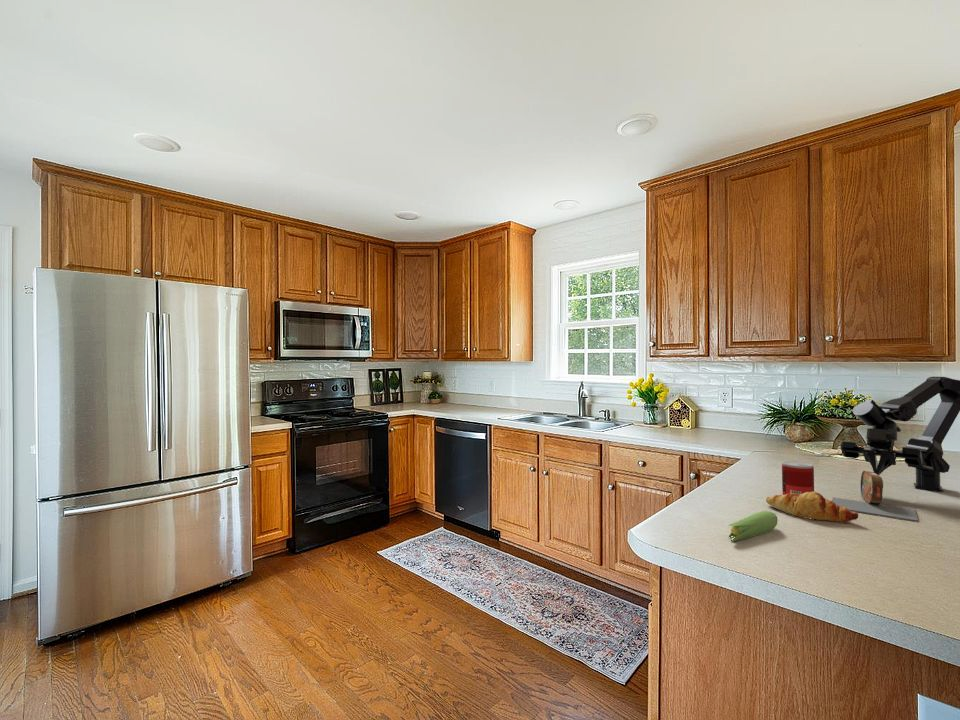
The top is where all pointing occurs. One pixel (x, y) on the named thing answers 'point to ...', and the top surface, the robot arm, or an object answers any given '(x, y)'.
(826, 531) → the top surface
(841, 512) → the croissant
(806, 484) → the canned food
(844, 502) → the mat
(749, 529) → the edible corn
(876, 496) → the tin
